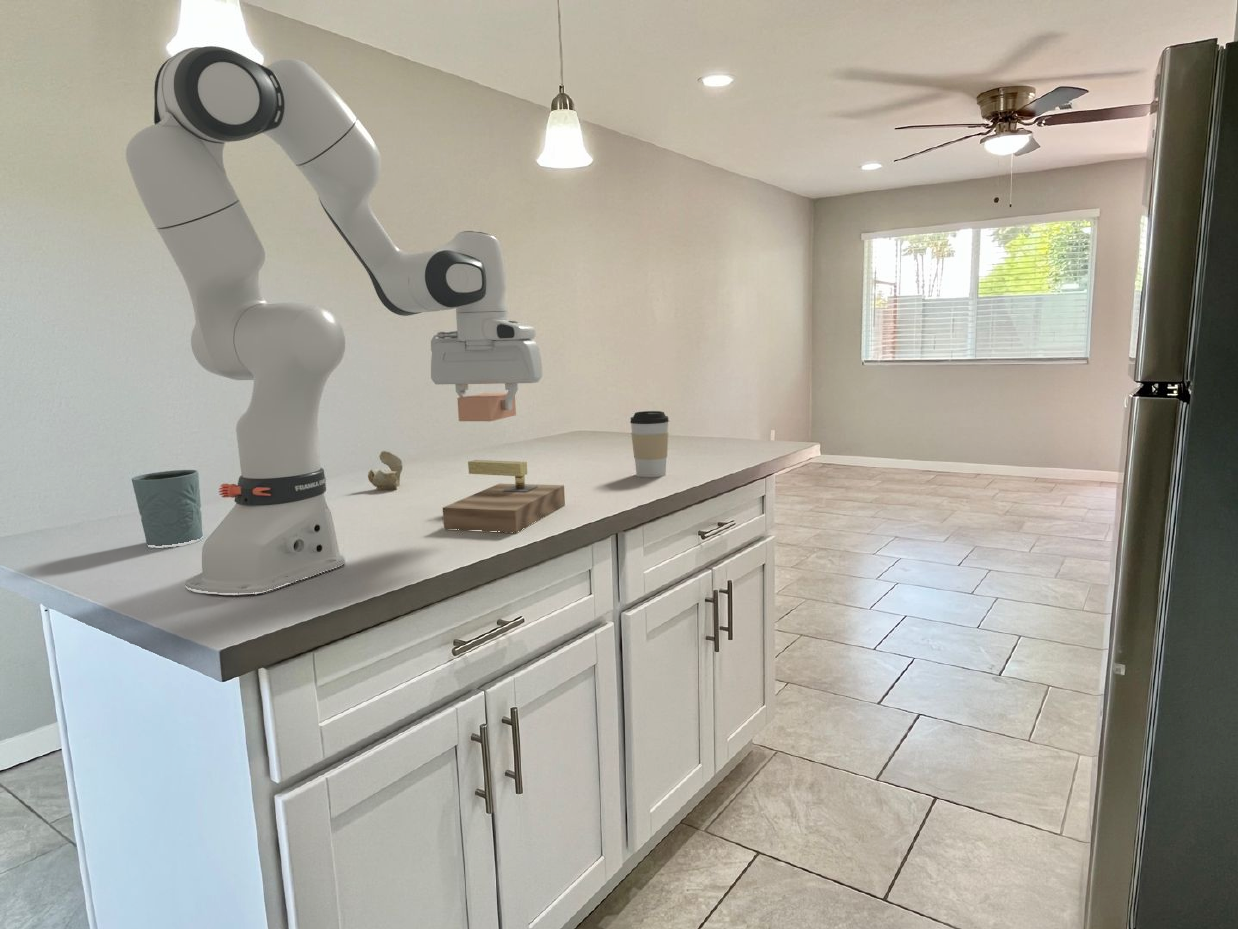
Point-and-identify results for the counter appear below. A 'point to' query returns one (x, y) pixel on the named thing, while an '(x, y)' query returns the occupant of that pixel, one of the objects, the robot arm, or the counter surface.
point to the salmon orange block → (483, 407)
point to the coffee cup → (650, 443)
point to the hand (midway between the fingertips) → (487, 409)
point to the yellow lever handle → (500, 469)
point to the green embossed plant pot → (169, 506)
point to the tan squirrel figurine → (387, 472)
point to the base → (504, 507)
